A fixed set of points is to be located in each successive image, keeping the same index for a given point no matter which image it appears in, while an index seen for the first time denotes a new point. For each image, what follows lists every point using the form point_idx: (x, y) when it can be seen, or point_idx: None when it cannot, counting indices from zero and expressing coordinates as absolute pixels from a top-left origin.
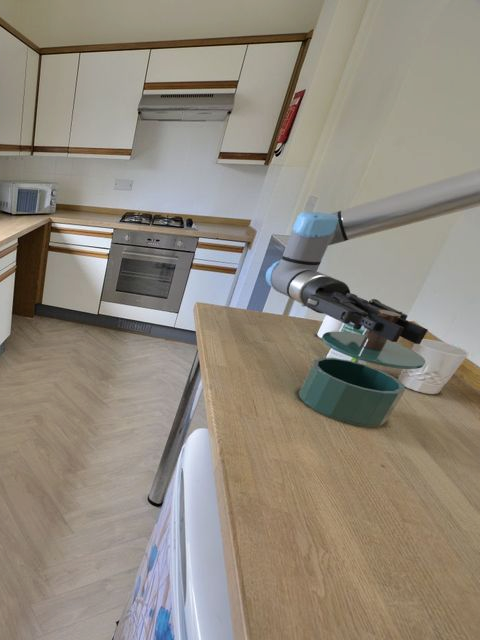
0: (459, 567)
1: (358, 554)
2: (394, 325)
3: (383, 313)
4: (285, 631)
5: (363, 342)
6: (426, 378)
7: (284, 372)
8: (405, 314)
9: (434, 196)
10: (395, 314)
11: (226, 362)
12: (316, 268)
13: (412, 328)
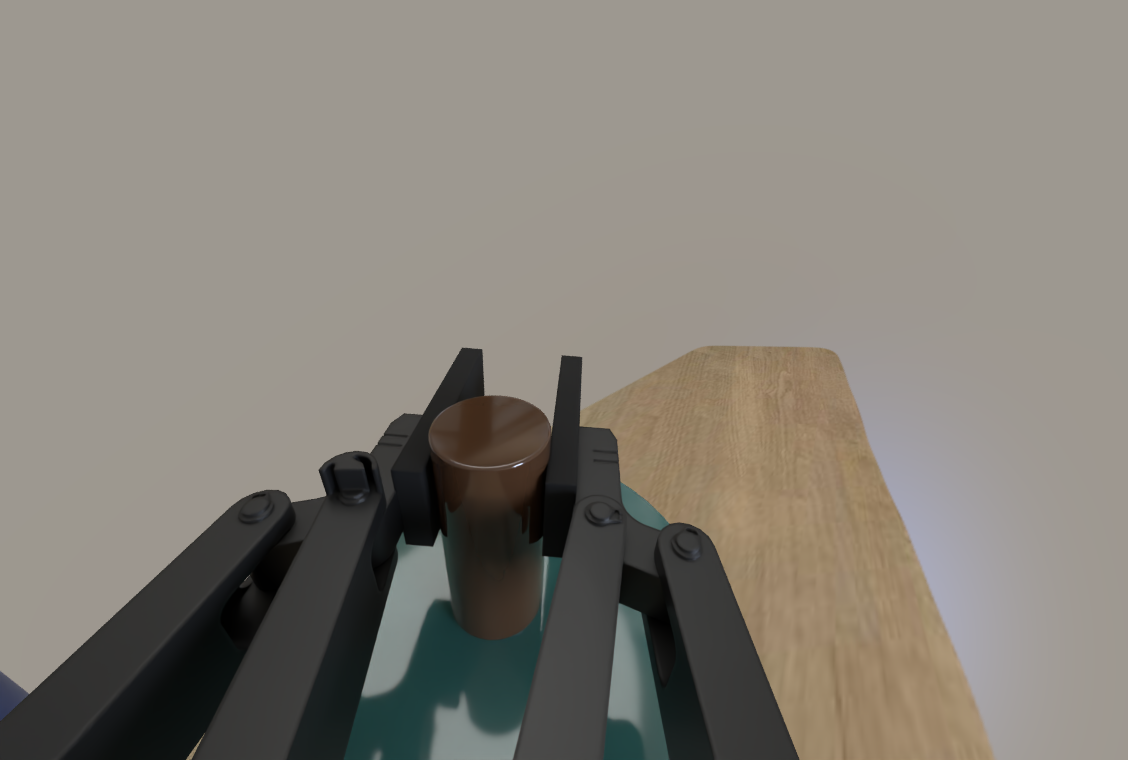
0: (641, 384)
1: (735, 391)
2: (579, 374)
3: (548, 421)
4: (816, 358)
5: (538, 597)
6: None
7: None
8: (252, 498)
9: None
10: (481, 408)
11: None
12: None
13: (472, 388)
